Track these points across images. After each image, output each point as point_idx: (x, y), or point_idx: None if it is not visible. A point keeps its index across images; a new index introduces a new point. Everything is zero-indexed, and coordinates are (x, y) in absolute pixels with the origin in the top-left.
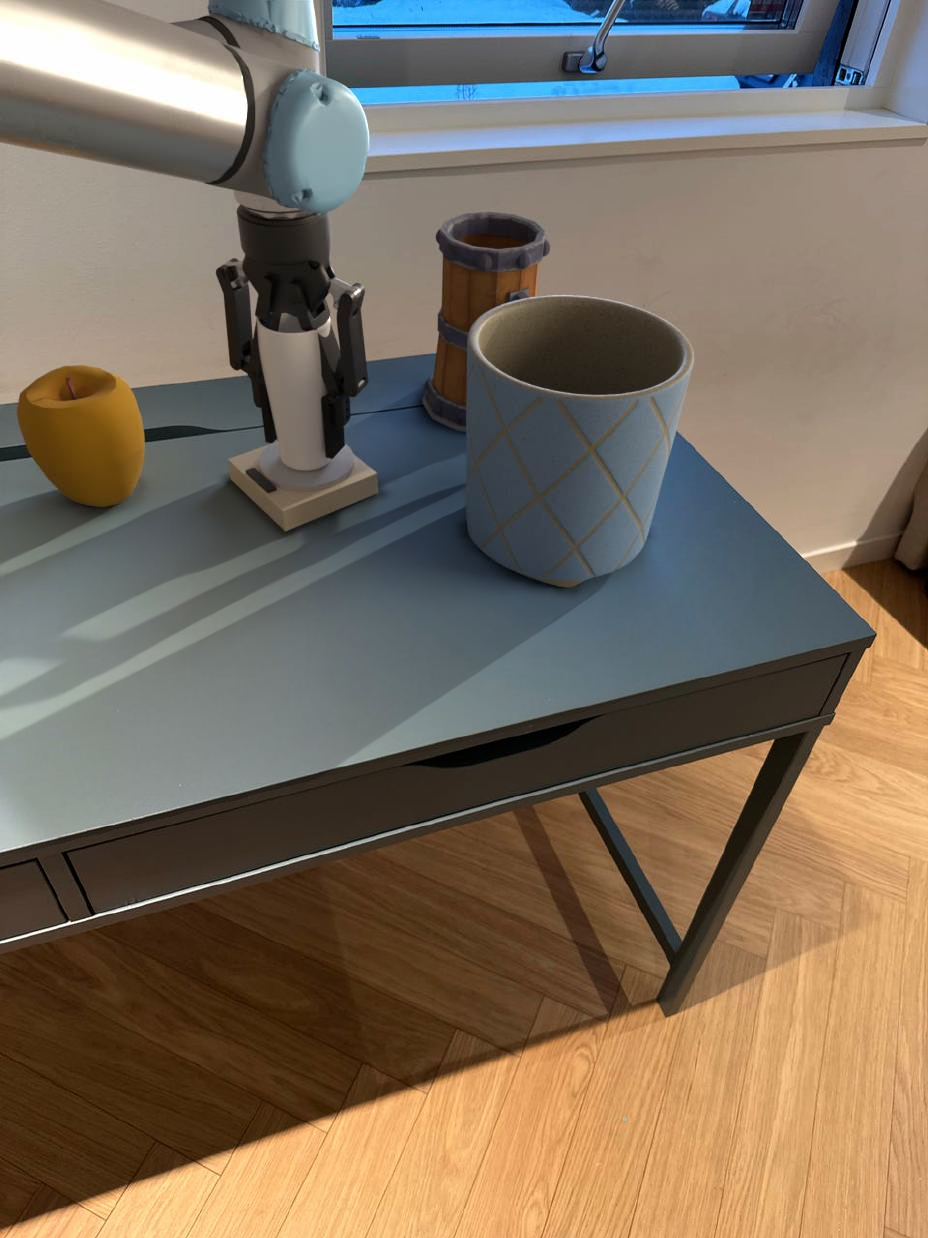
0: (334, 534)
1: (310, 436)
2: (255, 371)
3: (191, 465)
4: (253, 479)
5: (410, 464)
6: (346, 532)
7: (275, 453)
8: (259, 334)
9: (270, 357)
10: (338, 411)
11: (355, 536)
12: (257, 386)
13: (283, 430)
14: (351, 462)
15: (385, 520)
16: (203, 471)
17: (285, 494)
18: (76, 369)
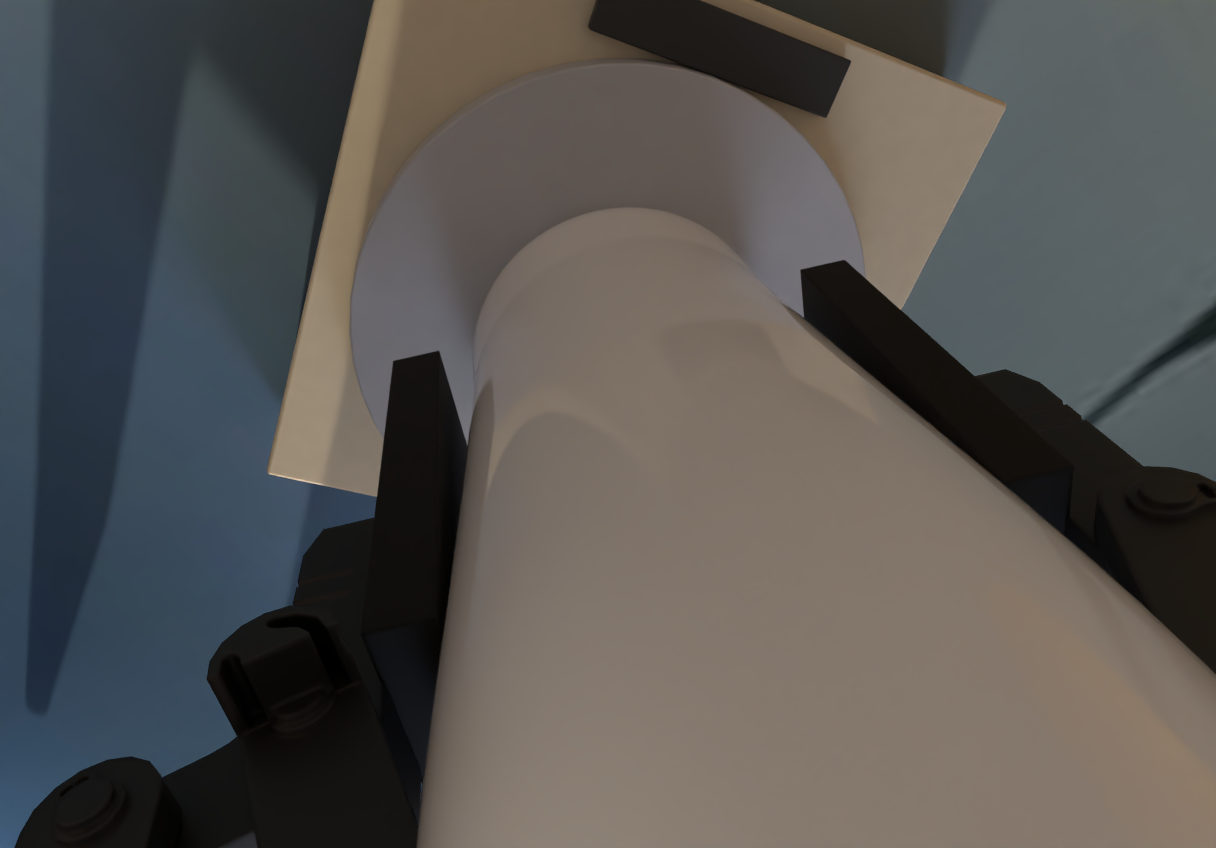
0: (186, 19)
1: (501, 360)
2: (1158, 532)
3: (1180, 59)
4: (765, 25)
5: None
6: (152, 74)
7: (790, 277)
8: None
9: (1013, 695)
10: (332, 605)
11: (87, 74)
12: (1072, 463)
13: (681, 281)
14: None
15: (87, 276)
16: (1102, 54)
17: (517, 24)
18: None
